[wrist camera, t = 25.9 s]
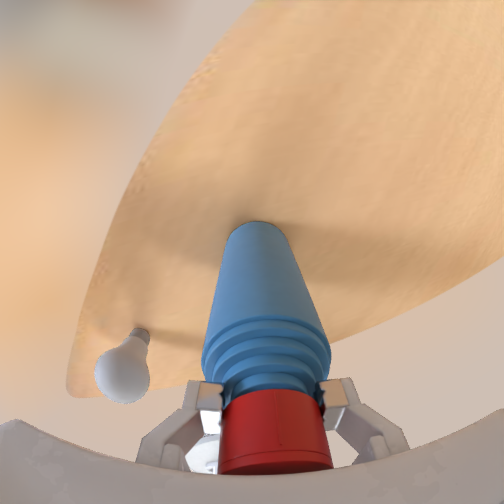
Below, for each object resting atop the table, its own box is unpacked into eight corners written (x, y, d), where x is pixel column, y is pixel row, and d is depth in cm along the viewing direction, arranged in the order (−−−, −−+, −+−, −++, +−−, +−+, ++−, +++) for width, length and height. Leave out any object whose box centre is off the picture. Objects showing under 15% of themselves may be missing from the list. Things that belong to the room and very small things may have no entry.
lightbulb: (158, 356, 33) (136, 421, 23) (117, 338, 32) (85, 397, 22) (171, 325, 31) (146, 393, 21) (125, 304, 30) (86, 365, 20)
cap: (218, 386, 9) (211, 459, 6) (329, 384, 9) (349, 452, 6) (223, 440, 10) (220, 497, 7) (310, 438, 10) (320, 492, 7)
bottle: (287, 281, 29) (338, 484, 9) (225, 281, 29) (196, 489, 8) (290, 221, 26) (390, 407, 6) (224, 221, 26) (165, 417, 6)
